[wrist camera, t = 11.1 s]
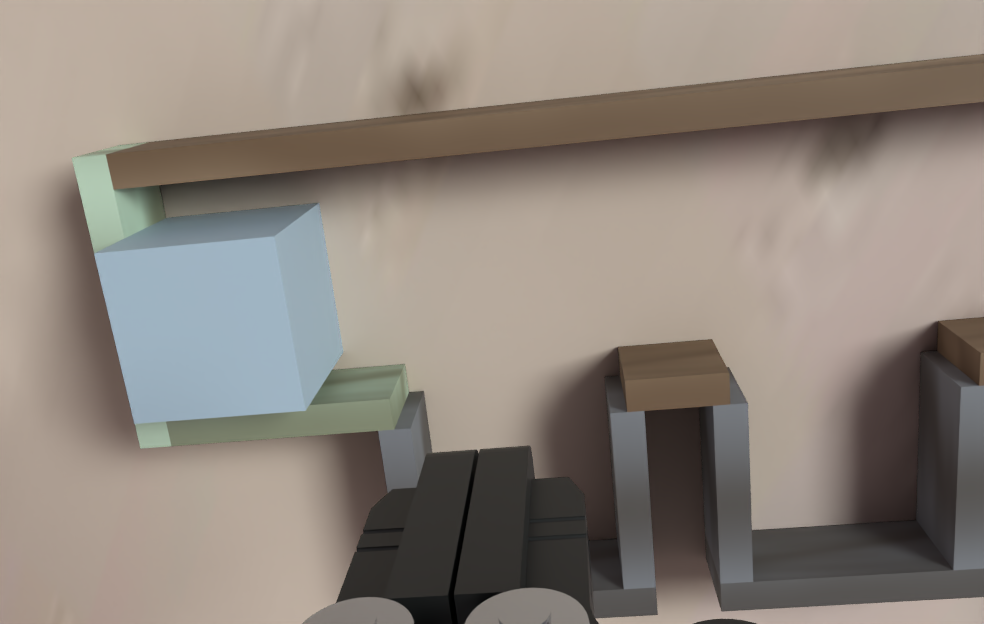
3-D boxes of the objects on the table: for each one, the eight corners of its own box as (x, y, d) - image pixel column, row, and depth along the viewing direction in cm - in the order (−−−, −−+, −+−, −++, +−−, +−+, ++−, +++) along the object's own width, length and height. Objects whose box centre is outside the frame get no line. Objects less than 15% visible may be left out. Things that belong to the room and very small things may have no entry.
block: (167, 217, 30) (94, 253, 25) (319, 202, 29) (274, 236, 24) (198, 363, 31) (134, 424, 26) (343, 351, 31) (305, 410, 26)
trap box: (119, 145, 29) (71, 158, 26) (1092, 43, 26) (1158, 43, 23) (217, 588, 33) (186, 640, 31) (1054, 538, 31) (1106, 590, 28)
